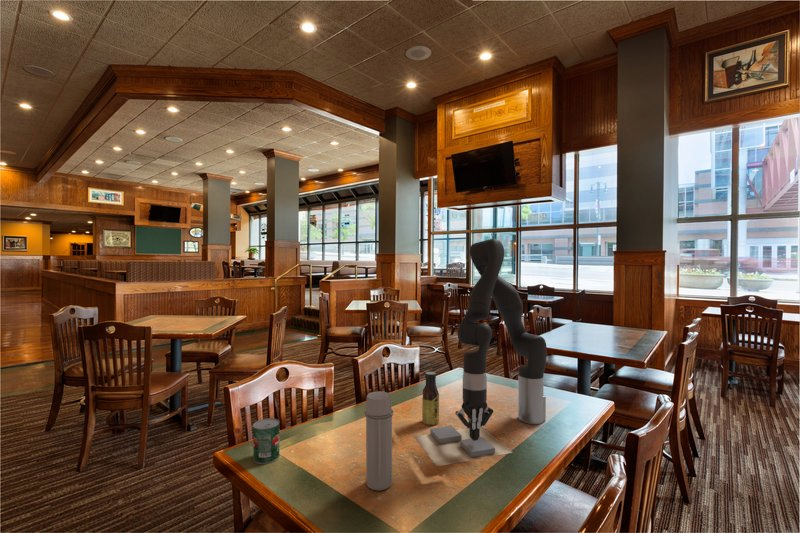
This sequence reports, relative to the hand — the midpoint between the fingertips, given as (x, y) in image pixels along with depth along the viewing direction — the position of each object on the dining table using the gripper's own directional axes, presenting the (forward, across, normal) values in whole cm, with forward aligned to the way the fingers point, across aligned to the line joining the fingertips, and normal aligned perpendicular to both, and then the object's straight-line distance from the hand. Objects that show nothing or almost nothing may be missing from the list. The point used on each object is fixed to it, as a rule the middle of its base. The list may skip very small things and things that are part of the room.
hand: (474, 439), depth 122 cm
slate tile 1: (+2, +1, -11) cm, 11 cm away
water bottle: (+5, +33, +7) cm, 34 cm away
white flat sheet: (+5, +2, -5) cm, 8 cm away
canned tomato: (+5, +63, -19) cm, 66 cm away
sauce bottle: (+5, +5, -24) cm, 25 cm away
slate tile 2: (+2, -5, 0) cm, 6 cm away
